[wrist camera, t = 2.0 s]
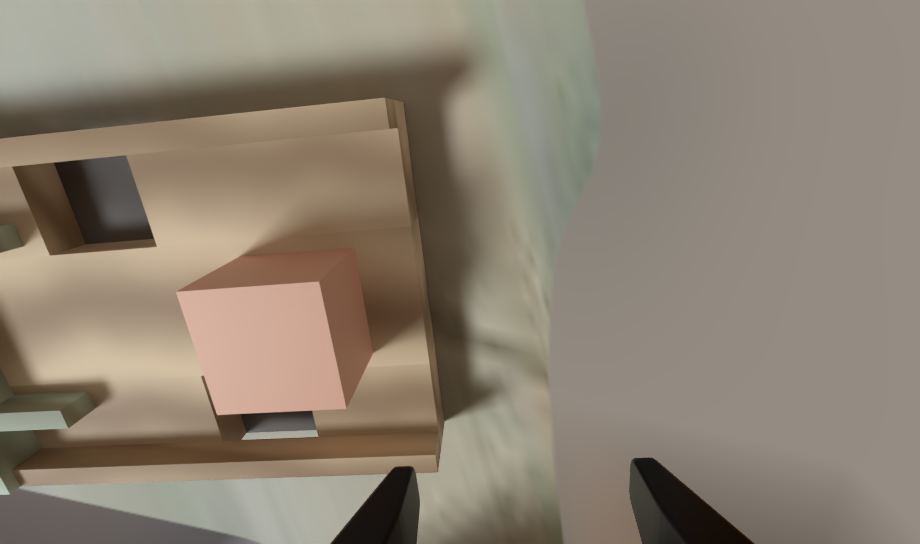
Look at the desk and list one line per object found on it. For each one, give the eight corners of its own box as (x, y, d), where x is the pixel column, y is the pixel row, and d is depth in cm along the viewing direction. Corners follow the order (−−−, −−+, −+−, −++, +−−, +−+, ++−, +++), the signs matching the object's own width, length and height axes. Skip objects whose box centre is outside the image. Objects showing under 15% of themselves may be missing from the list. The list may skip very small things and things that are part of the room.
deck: (444, 421, 23) (436, 480, 19) (66, 438, 25) (-9, 495, 21) (403, 101, 18) (381, 96, 14) (-72, 151, 20) (-205, 159, 16)
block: (373, 353, 19) (346, 408, 16) (267, 359, 20) (217, 414, 16) (354, 247, 18) (318, 281, 14) (239, 256, 18) (175, 291, 14)
